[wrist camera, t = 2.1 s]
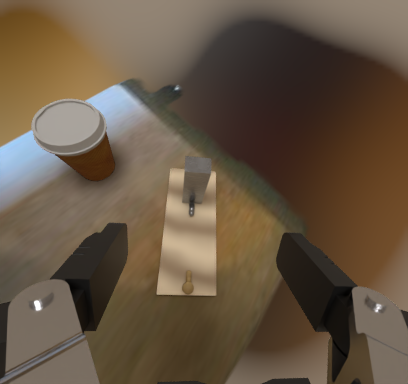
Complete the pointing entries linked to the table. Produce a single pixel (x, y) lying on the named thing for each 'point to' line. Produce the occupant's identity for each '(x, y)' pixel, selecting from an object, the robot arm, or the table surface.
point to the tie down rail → (188, 242)
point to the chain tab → (195, 180)
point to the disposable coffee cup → (75, 137)
